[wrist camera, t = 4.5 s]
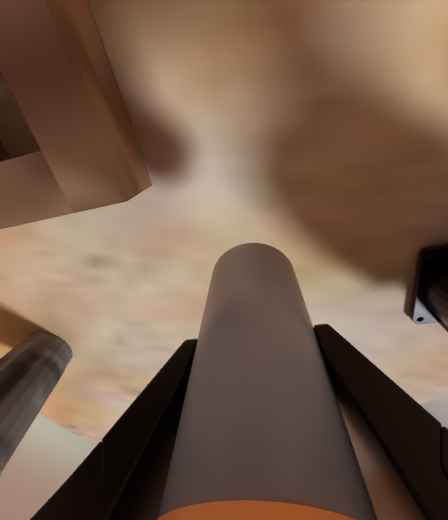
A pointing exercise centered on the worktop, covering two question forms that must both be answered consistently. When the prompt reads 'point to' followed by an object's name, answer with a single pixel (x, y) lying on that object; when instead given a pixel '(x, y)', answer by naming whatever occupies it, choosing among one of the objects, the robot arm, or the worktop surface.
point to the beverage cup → (27, 385)
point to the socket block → (64, 115)
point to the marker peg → (261, 407)
